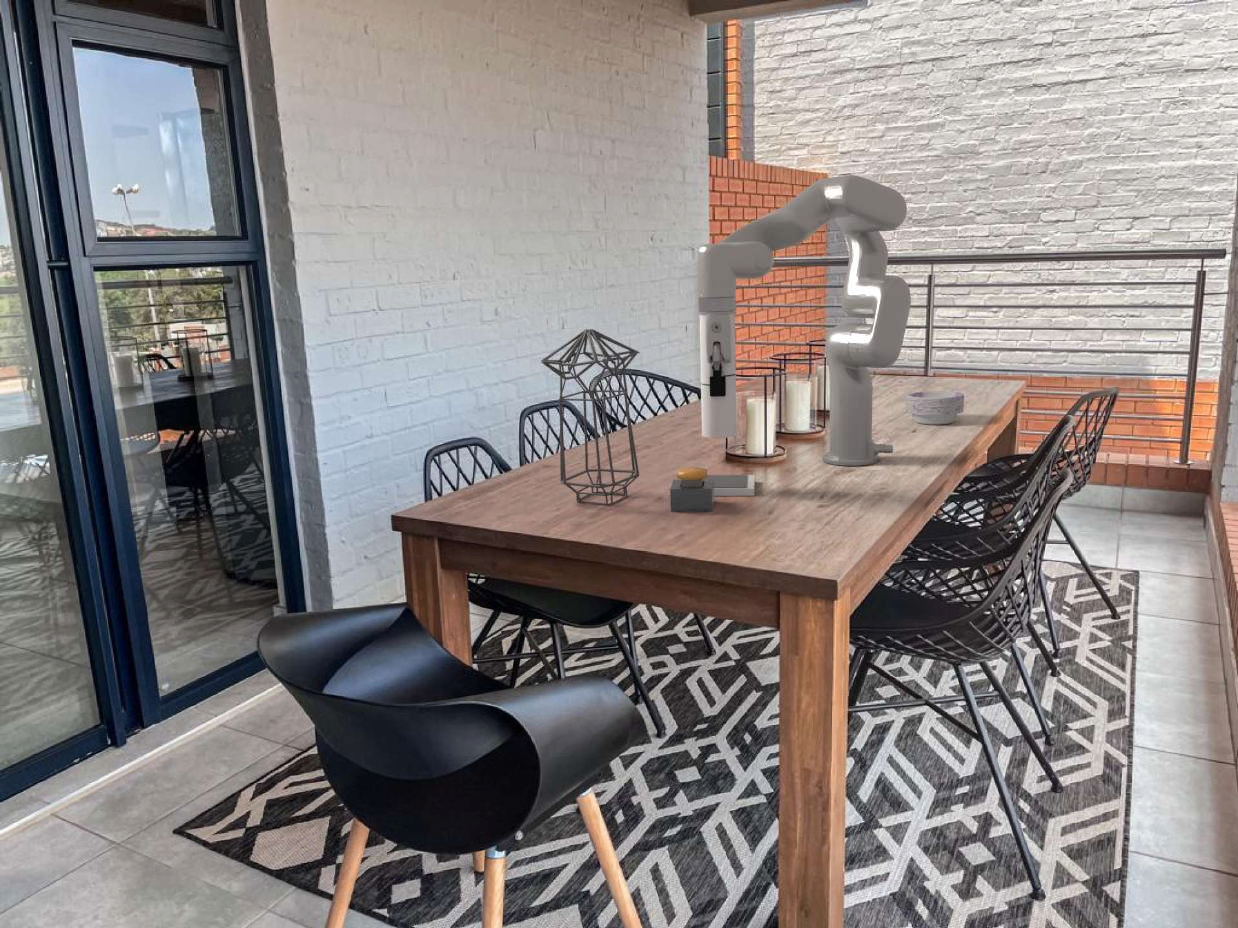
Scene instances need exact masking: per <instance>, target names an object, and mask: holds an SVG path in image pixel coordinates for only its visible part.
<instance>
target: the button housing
mask: <svg viewBox="0 0 1238 928" xmlns="http://www.w3.org/2000/svg"><path fill="white" fill-rule="evenodd" d="M669 492H670V493H669V494H670V495H669V498H670V512H672V513H673V512H674V513H676V512H677V513H679V512H681V513H684V512H685V513H688V512H689V513H693V512H694V513H695V512H697V513H698V512H704V513H705V512H706V513H707V512H708V513H709V512H710V513H711V512H713V510H714V503H715V496H714V479H703V487H681V479H678V478H676V479H675V478H674V479H673V480H672V483H671V485H670V489H669Z"/></svg>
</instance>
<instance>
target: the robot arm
mask: <svg viewBox="0 0 1238 928" xmlns="http://www.w3.org/2000/svg"><path fill="white" fill-rule="evenodd" d="M907 211H908V207H907V202H906V200H905V198H904V196H903V195H902V194H901V193H900V192H899V191H898V190H896V189H894V188H891V187H889V186H886V185H883V184H881V183H880V182H879V183H878V182H877V181H874V180H870V179H869V178H865V177H863V176H858V175H852V174H851V175H841V176H832V177H825V178H822V179H821V178H820V179H819V180H816V181H815V182H813V183H812V184H810V185H809V186H808V187H806V188H805V189H804V190H803V191H801V192H800V193H799V194H797V195H796V196H795V197H793V198H792V199H791V200H789V201H787V203H785V204H784V205H783V206H781V207H780V208H778V209H776V210H774V211H771V212H770V213H767V214H766V215H763V216H761V217H759V218H758V219H755V220H752V221H751V222H749V223H747V224H745V225H743V226H741V227H739V228H738V229H736V230H735V231H733V232H732V233H730V234H729V235H728V236H726V237H725V238H724V239H722V240H721V241H720V242H719V243H707V244H702V245H700V246H699V247H698V250H697V289H698V290H697V291H698V294H697V295H698V296H697V297H698V301H697V302H698V315H700V314H701V315H706V318H705V339H706V354H707V362H708V363H710V364H711V369H710V375H711V377H710V396H711V397H724V396H726V376H724V360H725V361H728V363H730V362H731V361H732V355H731V323H730V315H729V314H733V313H735V314H737V305H736V304H737V302H736V300H737V298H736V297H737V295H736V294H737V293H736V291H737V289H736V287H737V286H736V285H737V282H736V280H757V279H760V278H763V277H765V276H767V274H769V273H770V271H772V269H773V266H774V263H775V257H774V253H773V252H774V251H775V252H776V251H780V250H784V249H788V248H790V247H793V246H797V245H800V244H802V243H803V242H805V241H806V240H807V239H809V238H810V237H811V236H813V234H815V233H816V232H817V231H818V230H820V229H821V228H822V227H823V226H825V225H827V223H829V222H830V221H832V220H834V219H835V220H836V224H837V225H838V227H839V228H840V230H841V232H842V233H843V235H844V237H845V240H846V241H847V245H848V249H849V258H848V264H847V269H846V273H845V279H844V283H843V288H842V293H841V305H840V306H841V309H842V310H843V312H844V314H846V315H847V316H850V317H852V318H859V319H872V320H873V321H872V323H858V322H845V323H844V322H843V323H840V324H838V325H835V326H834V327H832V329H830V331H829V332H828V333H827V336H826V339H825V343H824V344H825V355H826V360H827V364H828V370H829V451H828V452H825V453H824V454H823V455H822V461H823V462H824V463H827V464H829V465H835V466H846V467H847V466H848V467H850V466H851V467H855V466H856V467H857V466H866V465H867V466H868V465H873V464H875V463H877V462H878V461H879V454H893V453H894V448H893V447H894V446H893V444H886V443H880V444H879V443H876V442H874V440H873V433H872V432H873V431H872V430H873V395H874V394H873V389H874V387H873V386H874V385H873V380H872V376H871V374H870V372H869V369H868V368H871V369H872V368H873V369H886V368H889V367H891V366H893V365H894V364H895V363H896V361H897V360H898V358H899V357H900V354H901V350H902V348H903V343H904V339H905V334H906V328H907V325H908V321H909V315H910V309H911V304H912V303H911V302H912V298H911V297H912V296H911V295H912V294H911V290H910V286H909V285H908V283H907V282H906V280H905V279H904V278H902V277H900V276H898V275H894V274H886V273H887V269H888V262H889V261H888V260H889V250H888V247H887V244H886V241H885V240H884V238H883V235H882V234H881V232H889V231H892V230H895V229H898V228H899V227H900V226H902V224H903V223H904V221H906V220H905V219H906V217H907V214H908V213H907ZM716 326H718V327H717V328H718V329H717V328H715V327H716ZM720 347H721V353H722V355H723V356H722V361H720ZM712 353H714V356H713V361H712V356H711V355H712ZM710 356H711V360H710ZM710 361H711V362H710ZM721 365H722V366H721ZM721 369H722V373H721Z"/></svg>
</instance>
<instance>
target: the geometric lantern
mask: <svg viewBox="0 0 1238 928" xmlns="http://www.w3.org/2000/svg"><path fill="white" fill-rule="evenodd" d="M593 340H594V341H595V343H596V344H597V345H598V348H599V350H600V352H601V353H597V351H596V348H595V344H594V342H593ZM604 340H605V341H604ZM606 341H607V342H609V343H612V344H613V345H616V346H618V347H620V348H622V349H625V350H626V351H622V352H621V351H620V352H617V351H615V350H614V349H613V348H612V347H611V346H610V345H609V344H608V343H606ZM588 342H589V346H590V350H591V352H590V351H587V344H588ZM570 344H572V345H571V346H570V347H569V348H568V349H567V350H566V351H565V352H564V354H563V355H561V357H560V358H559V359H550V358H552V357H554V356H555V355H556V354H558V353H559V352H561V351H562V350H563V349H565V348H566V347H567V346H569V345H570ZM605 347H606V349H605ZM582 349H583V350H582ZM607 350H609V351H610V352H611V354H609V353H608V351H607ZM581 351H582V352H581ZM638 354H640V351H638V350H636V349H634V348H632V347H630V346H627V345H625V344H624V343H621V342H619V341H617V340H615V339H613V338H611V337H609V336H608V335H606V334H603V333H601V332H599V331H597V330H595V329H593V328H590V329H584V330H583V331H581V332H580V333H578V334H577V335H575V336H574V337H572V338H571V339H570V340H568V341H567V342H566V343H564V344H563V345H561V346H560V347H558V348H557V349H555V350H554V351H553V352H551V353H550V354H548V355H547V356H545V357H544V358H542V359H541V360H540V363H541V364H543V365H544V366H545V367H547V369H549V370H551V371H552V372H553V373H554V374H556V375H557V376H559V399H558V405H559V406H558V409H559V455H560V456H559V462H560V468H559V469H560V483H561V484H562V485H565V486H566V487H567V488H569V489H570V490H571V491H572V492H574V493H575V494H576V502H577V503H583V504H591V505H602V506H611V505H615V504H616V503H619V502H621V501H623V500H624V499H626V498H628V497H629V495H628V489H627V488H628V487H629V486H630V485H631V484H632V483H633V482H634V481H635V480H636V479H637V478H638V477H639V476H640V472H639V465H638V458H637V452H636V446H635V445H636V444H635V439H634V433H633V426H632V421H631V414H630V408H629V407H630V406H629V400H628V394H629V392H628V387H627V378H626V368H627V367H628V366H629V365H630V364H631V362H632V361H633V360H634V358H635V357H636V356H637V355H638ZM580 355H585V357H587V358H588V359H590V360H588V361H581V362H578V360H579V357H580ZM623 355H625V356H623ZM622 356H623V357H622ZM599 357H600V358H602V360H599V359H598V358H599ZM626 361H627V362H626ZM609 362H610V363H611V364H613V367H612V366H611V367H610V365H609ZM625 362H626V363H625ZM595 364H597V365H598V366H600V367H601V368H602V370H601V372H600V374H599V376H598V379H597V381H596V382H595V384H594V386H593V388H592V390H590V389H589V388H588V387H587V386H586V384H585V382H583V380H582V379H581V377H580V376H582V375H583V374H584V373H585V372H586V371H588V370H589V369H591V368H592V367H593V366H594V365H595ZM553 365H558V367H559V368H556V367H555V366H553ZM585 365H587V366H586V367H585V368H583V369H582V370H580V371H579V372H578V373H576V367H578V366H585ZM621 366H622V368H621ZM565 367H567V371H565V369H564V368H565ZM620 368H621V369H620ZM619 369H620V370H619ZM606 370H607V371H608V372H609V373H610V374H611V376H610V378H609V380H608V382H607V384H606V386H605V387H604V390H603V389H600V390H599V389H598V390H597V387H598V385H599V383H600V381H601V379H602V377H603V375H604V373H605V372H606ZM613 371H614V372H613ZM620 374H622V379H623V383H622V380H621V378H620V376H619V375H620ZM566 375H569V376H566ZM570 375H571V376H570ZM615 376H617V377H616V378H617V379H618V381H619V384H620V386H621V389H622V390H621V389H620V390H614V389H612V390H610V389H609V390H608V386H609V385H610V383H611V381H612V379H613V378H614V377H615ZM563 380H564V381H563ZM568 380H575V382H577V384H578V385H579V386H580V388H581V389H582V391H581V390H580V391H578V392H575V393H571V394H568V395H563V393H564V389H565V385H566V382H567V381H568ZM595 393H602V394H601V396H600V398H595ZM605 393H618V394H615V395H611V396H608V397H604V395H605ZM580 394H582V398H570V397H573V396H576V395H580ZM587 394H588V396H589V397H590V398H587ZM621 396H623V398H624V402H625V404H624V405H625V411H626V413H625V414H626V421H627V430H628V431H627V432H628V441H629V448H630V449H629V451H630V459H631V466H632V468H631V469H632V470H630V469H614V467H613V461H612V459H613V457H612V452H611V445H610V436H609V430H608V423H607V422H608V421H607V417H606V416H607V415H606V407H605V401H606V400H609V399H614V398H616V397H621ZM563 401H570V402H572V401H577V402H578V401H579V402H580V401H581V402H583V424H584V425H583V426H584V427H583V428H584V452H585V453H584V456H585V457H584V458H585V461H584V462H585V470H583V471H580V472H577V473H575V474H573V475H571V476H570V475H569V477H567V475H566V474H567V473H566V459H565V457H566V456H565V439H564V421H563ZM587 402H591V403H592V404H591V405H592V414H593V417H592V418H593V429H594V440H595V452H596V462H597V468H590V469H589V457H588V456H589V454H588V453H589V452H588V451H589V450H588V428H587V427H588V425H587V422H588V421H587V420H588V419H587ZM596 402H597V403H598V402H600V403H601V411H602V418H603V426H604V434H605V440H606V446H607V447H606V448H607V455H608V463H609V468H601V457H600V447H599V445H600V444H599V434H598V433H599V432H598V423H597V411H596ZM592 472H595V473H596V472H597V476H596V482H595V483H594V482H593V480H592V477H591V475H590V473H592ZM602 472H605V473H606V472H608V473H609V472H610V476H611V483H602V482H603V481H602ZM586 473H587V474H586ZM614 473H624V474H625V473H628V474H630V476H628V477H625V478H623V479H621V480H620V479H619V480H617V481H616V480H615V474H614ZM584 474H586V475H587V476H588V479H589V481H590V483H591V484H589V483H579V482H570V481H571V480H572V479H574V478H577V477H579V476H581V475H584ZM568 481H569V482H568ZM624 482H625V483H624ZM573 486H575V487H583V488H581V489H579V490H576V489H575V488H574V487H573ZM609 487H611V490H610V492H608V491H606V490H605V489H606V488H609ZM615 487H620V488H618V489H616V490H615ZM588 488H591V492H584V491H585V490H586V489H588ZM594 488H596V491H594ZM599 489H601V490H602V491H599ZM621 490H622V491H623V493H620V492H619V491H621ZM618 492H619V493H618ZM580 495H584V496H581V497H580ZM614 495H615V496H623V497H621V498H619V499H617V500H615V501H614V499H613V498H614V497H613V496H614ZM590 496H603V497H605V502H595V501H586V500H583V499H585V498H587V497H590ZM608 496H610V503H609V502H608V501H609V500H608Z"/></svg>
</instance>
